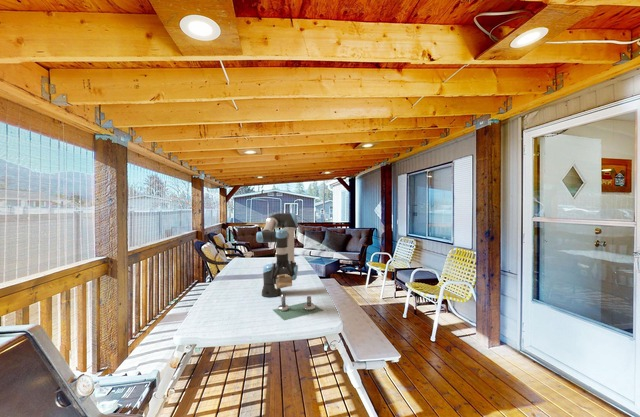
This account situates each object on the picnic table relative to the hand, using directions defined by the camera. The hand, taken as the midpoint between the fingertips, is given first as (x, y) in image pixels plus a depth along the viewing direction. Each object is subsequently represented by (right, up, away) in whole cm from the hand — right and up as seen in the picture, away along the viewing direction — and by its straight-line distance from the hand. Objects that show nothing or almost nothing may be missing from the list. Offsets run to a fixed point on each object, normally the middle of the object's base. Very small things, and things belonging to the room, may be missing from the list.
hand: (283, 287), depth 191 cm
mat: (+10, -15, -1) cm, 18 cm away
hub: (+17, -15, +1) cm, 23 cm away
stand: (0, -15, 0) cm, 15 cm away
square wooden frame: (0, +1, 0) cm, 1 cm away
